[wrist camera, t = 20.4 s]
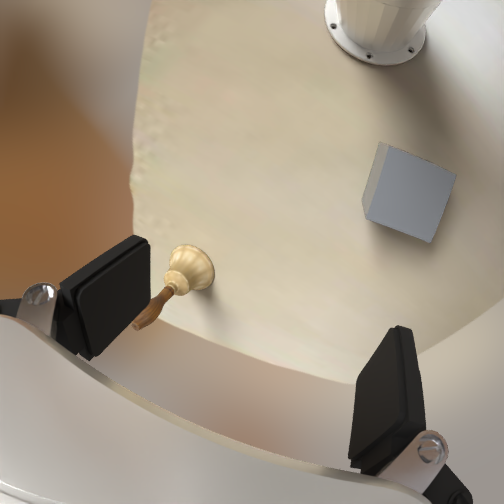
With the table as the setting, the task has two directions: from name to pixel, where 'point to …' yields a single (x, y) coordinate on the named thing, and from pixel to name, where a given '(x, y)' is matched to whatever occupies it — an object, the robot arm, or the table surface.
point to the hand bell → (179, 281)
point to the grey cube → (406, 192)
